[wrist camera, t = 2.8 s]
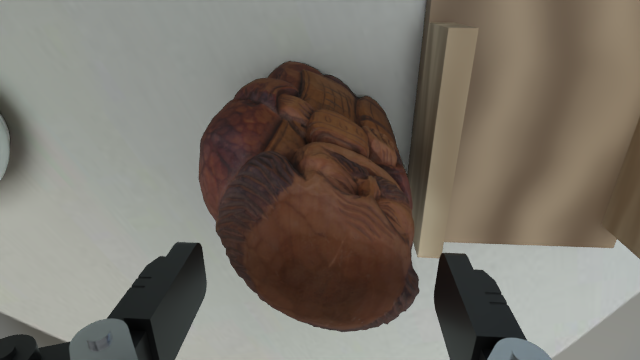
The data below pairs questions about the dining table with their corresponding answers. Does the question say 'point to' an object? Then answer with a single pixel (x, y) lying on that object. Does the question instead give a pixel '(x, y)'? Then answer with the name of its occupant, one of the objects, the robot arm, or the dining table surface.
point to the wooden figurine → (312, 199)
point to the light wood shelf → (527, 124)
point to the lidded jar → (4, 146)
